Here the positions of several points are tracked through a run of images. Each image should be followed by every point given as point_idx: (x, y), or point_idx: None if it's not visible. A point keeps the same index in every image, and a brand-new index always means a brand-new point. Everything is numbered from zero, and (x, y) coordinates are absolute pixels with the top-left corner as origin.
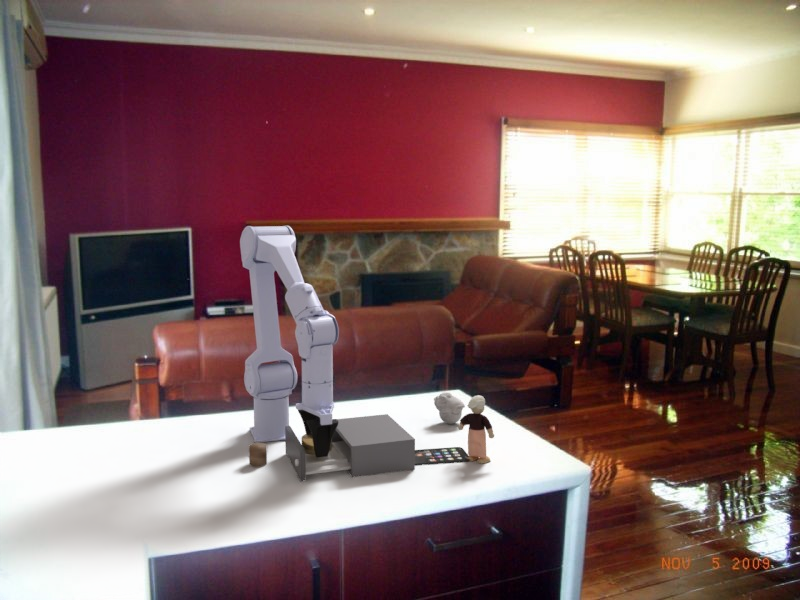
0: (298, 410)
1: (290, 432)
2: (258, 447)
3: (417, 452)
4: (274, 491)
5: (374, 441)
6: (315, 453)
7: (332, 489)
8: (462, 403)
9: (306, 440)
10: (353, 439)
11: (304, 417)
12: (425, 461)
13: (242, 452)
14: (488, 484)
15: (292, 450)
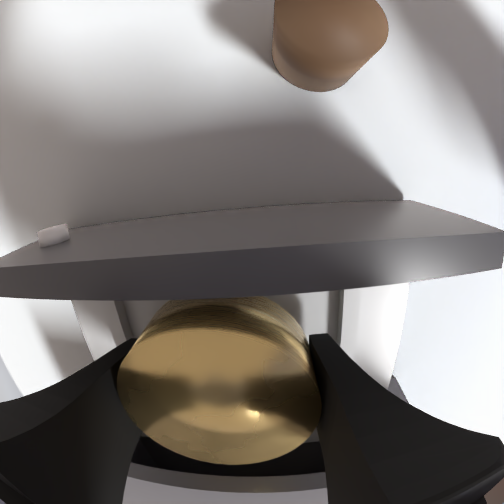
0: (478, 482)
1: (362, 256)
2: (299, 10)
3: None
4: (29, 137)
5: (124, 501)
6: (123, 344)
7: (37, 313)
8: None
9: (146, 351)
10: (135, 487)
11: (362, 479)
12: None
13: (448, 40)
14: None
15: (205, 226)
